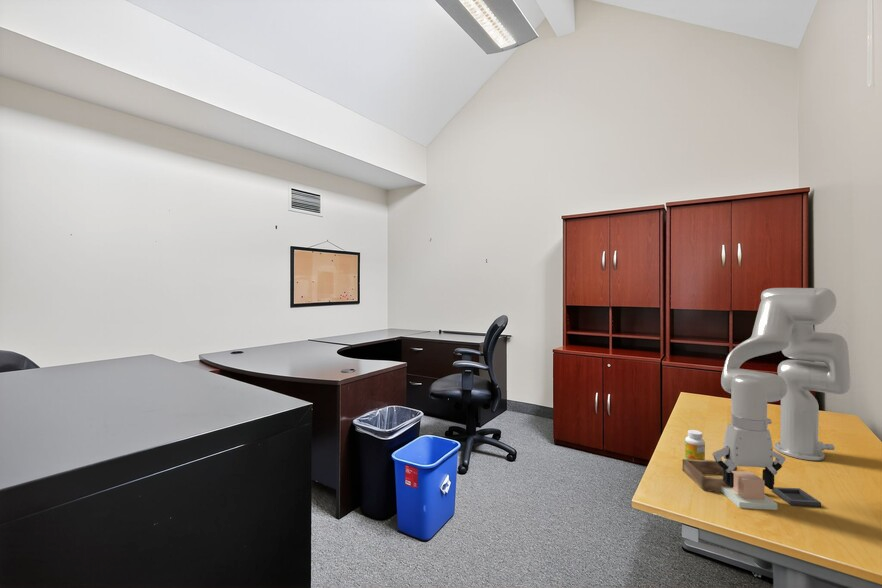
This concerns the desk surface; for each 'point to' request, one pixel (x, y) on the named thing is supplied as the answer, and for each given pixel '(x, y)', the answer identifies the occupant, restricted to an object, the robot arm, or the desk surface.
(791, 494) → the dark gray rectangular tray
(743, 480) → the terracotta cube
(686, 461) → the wooden tray frame
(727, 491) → the sage tile
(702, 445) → the supplement bottle
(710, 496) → the desk surface
